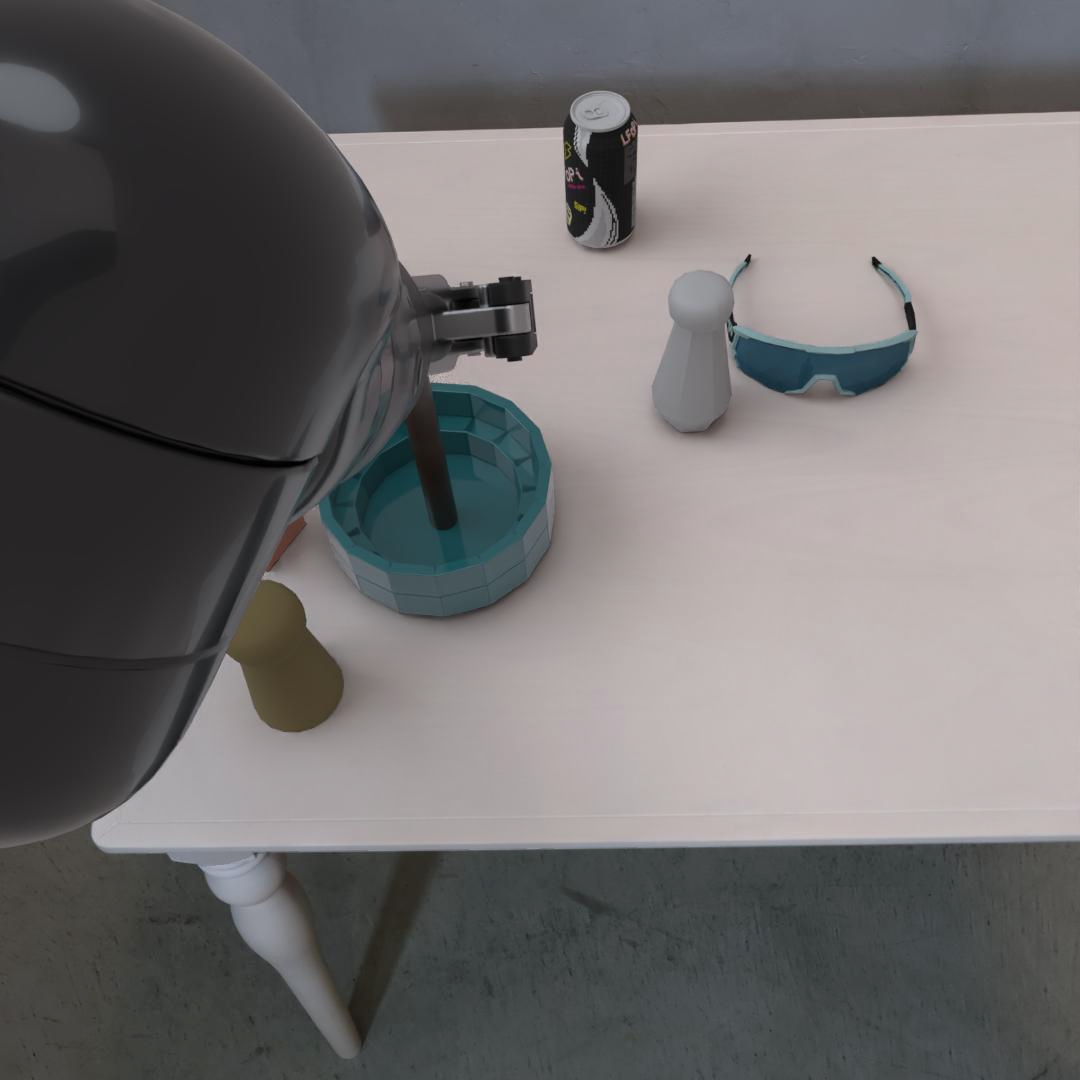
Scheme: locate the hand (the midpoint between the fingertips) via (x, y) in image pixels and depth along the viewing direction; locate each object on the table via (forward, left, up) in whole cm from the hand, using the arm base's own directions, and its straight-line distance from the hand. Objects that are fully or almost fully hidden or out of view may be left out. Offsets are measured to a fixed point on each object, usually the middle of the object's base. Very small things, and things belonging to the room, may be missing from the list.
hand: (359, 327), depth 46 cm
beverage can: (-11, +40, -33) cm, 53 cm away
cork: (-8, -6, -33) cm, 34 cm away
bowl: (-7, +9, -33) cm, 35 cm away
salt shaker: (+4, +26, -33) cm, 42 cm away
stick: (-7, +9, -32) cm, 34 cm away
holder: (-18, +2, -33) cm, 37 cm away
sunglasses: (+9, +38, -33) cm, 51 cm away
